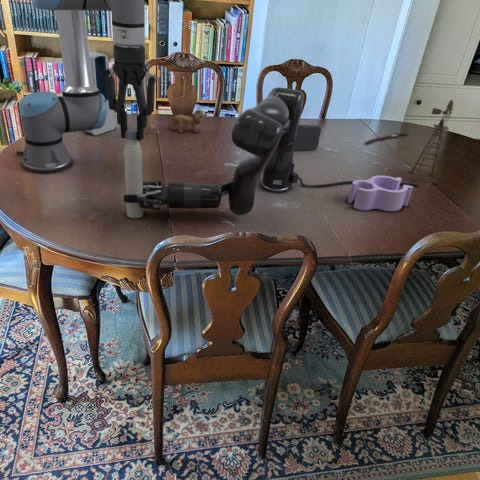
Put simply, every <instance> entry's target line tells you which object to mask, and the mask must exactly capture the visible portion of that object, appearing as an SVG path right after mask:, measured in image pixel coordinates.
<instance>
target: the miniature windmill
mask: <svg viewBox="0 0 480 480" xmlns="http://www.w3.org/2000/svg"><path fill="white" fill-rule="evenodd" d="M453 107H454V101H453V100H452V99H450V100H449V102H448V103H447V106H446V109H445V110H441V108H437V107H432V111H431V115H440V114H442V115H443V116H442V118H441V119H440V121H439V123H438V124H433V127H434V130H433V131H432V134H431V136H430V138H429V140H428V141H427V142H426V145H425V147H423V150H422V151H421V152H420V155H419V157H417V160H416V161H415V163H414V166H413V168H412V169H411V171H410V172H411V173H414V170H415V171H416V173H415V175H414V176H413V179H412V180H413V181H416V179H417V177H418V175H419V173H423V174H429V175H430V176H432V177H433V176H434V181H433V184H434V185H435V184H436V183H437V178H438V176H439V173H438V170H439V162H440V154H441V150H442V138H443V132H444V131H449V130H450V128H449V127H448V126H447V124H448V123H449V120H450V118H451V115H452V113H453V110H454V108H453ZM436 137H438V138H437V139H438V140H437V142H434V141H435V139H436ZM433 144H434V145H436V146H433ZM431 148H433V149H435V153H432V152H430V149H431ZM427 155H432V156H434V158H432V157H427ZM421 159H422V160H421ZM420 160H421V161H420ZM425 160H430V161H433V163H432V165H428V164H424V162H425ZM435 165H436V166H435ZM418 166H419V167H418ZM422 167H429V168H432V169H431V172H429V171H422V170H421V169H422Z"/></svg>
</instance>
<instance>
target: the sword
mask: <svg viewBox="0 0 480 480" xmlns="http://www.w3.org/2000/svg"><path fill="white" fill-rule="evenodd" d="M402 133H403V132H400V133H397V132H395V133H393V134H389V135H384V136H381V137H375V138H373V139H369V140H367V141H366V142H365V145H368V144H371V143H374V142H377V141H381V140H385V139H389V138H394V137H400V136H403V135H404V136H405V134H402ZM409 134H410V132H408V134H407V135H409Z"/></svg>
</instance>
